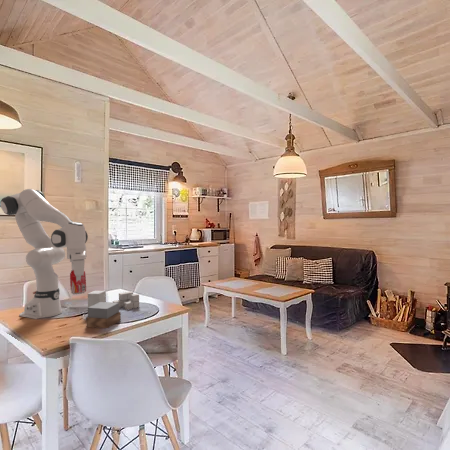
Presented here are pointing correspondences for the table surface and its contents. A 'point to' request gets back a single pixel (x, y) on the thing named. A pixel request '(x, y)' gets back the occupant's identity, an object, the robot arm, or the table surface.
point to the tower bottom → (103, 321)
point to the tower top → (103, 310)
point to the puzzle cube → (128, 300)
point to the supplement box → (96, 297)
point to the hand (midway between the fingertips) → (77, 281)
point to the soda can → (77, 283)
